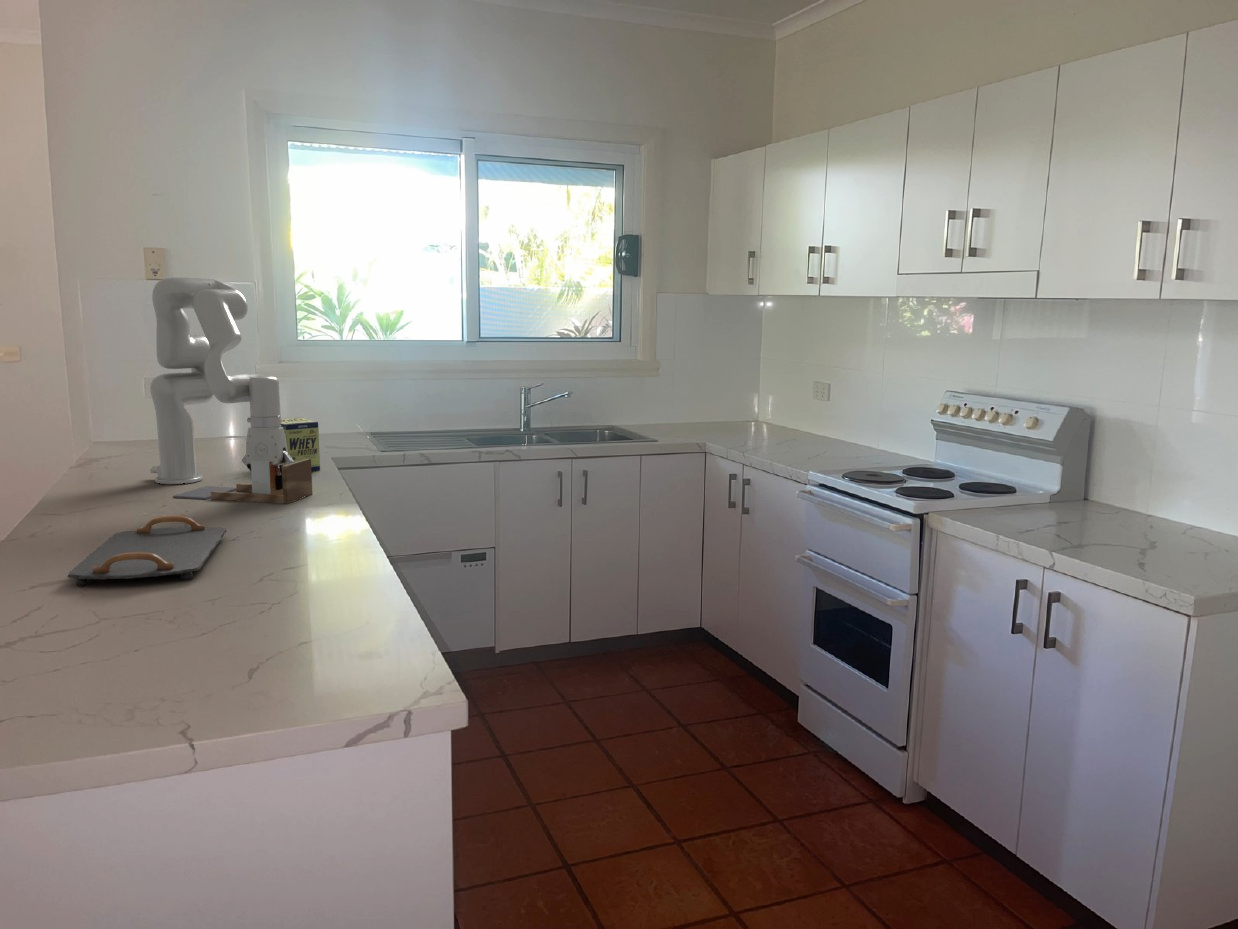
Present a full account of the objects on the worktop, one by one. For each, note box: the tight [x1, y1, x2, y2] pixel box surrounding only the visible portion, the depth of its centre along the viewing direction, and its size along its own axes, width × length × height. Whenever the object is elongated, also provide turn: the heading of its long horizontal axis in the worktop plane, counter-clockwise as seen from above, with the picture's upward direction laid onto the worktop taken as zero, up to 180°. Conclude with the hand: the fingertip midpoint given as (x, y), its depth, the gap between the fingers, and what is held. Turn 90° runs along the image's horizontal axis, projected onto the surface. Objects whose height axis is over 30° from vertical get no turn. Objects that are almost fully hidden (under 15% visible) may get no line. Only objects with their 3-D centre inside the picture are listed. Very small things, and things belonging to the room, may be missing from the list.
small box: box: [250, 461, 285, 495], centre depth 247 cm, size 8×6×10 cm
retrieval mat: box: [172, 485, 237, 501], centre depth 252 cm, size 10×14×1 cm
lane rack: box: [210, 459, 313, 504], centre depth 248 cm, size 23×12×10 cm, turn 78°
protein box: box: [281, 417, 321, 472], centre depth 290 cm, size 10×16×16 cm
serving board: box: [67, 515, 228, 588], centre depth 186 cm, size 39×23×6 cm, turn 14°
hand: (269, 487), depth 248 cm, fingers closed on small box, 5 cm apart
